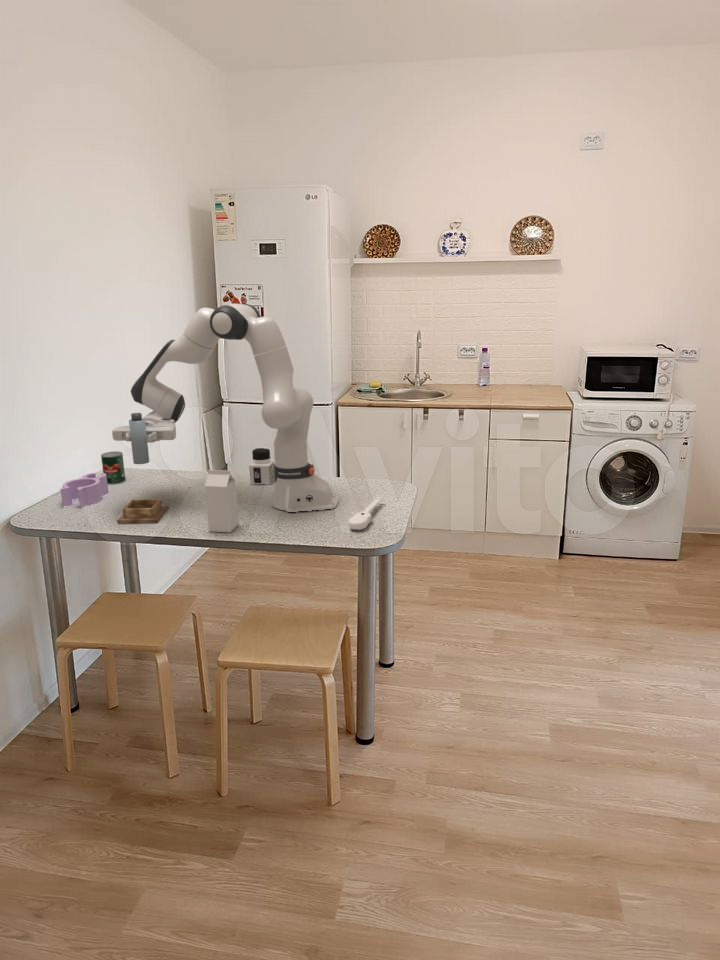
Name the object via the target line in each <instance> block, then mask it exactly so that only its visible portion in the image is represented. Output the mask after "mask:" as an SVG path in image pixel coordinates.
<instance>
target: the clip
mask: <svg viewBox="0 0 720 960" xmlns="http://www.w3.org/2000/svg"><path fill="white" fill-rule="evenodd" d="M61 486H62V487H61V488H59V489H60V497H61V503H62V507H63V506H70V505H72V506H73V500H72V499H74V500H76V498H77V499H78V502H79V503H78V504H79V507H81V508H80V509H83V508H82V507H85V508H86V506H85V505H89V506H92V505H91V504H93V505H96V504H98V502H99V503H101V502H102V501H103V496H105V495H107V494H109V484H107V477H106V474H105V473H103V472H102V473H101V474H100V476H97V477H96V472H90V473H86V474H84V475H83V476H81V477H79V478H75V479H71V480H69V481H65V482H64V483H63V484H61ZM95 503H96V504H95ZM70 507H71V506H70Z"/></svg>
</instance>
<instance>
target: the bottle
mask: <svg viewBox="0 0 720 960" xmlns="http://www.w3.org/2000/svg"><path fill="white" fill-rule="evenodd" d="M130 416H131V417H130V418H131V419H129V420H128V426H129V427H130V436H131V441H130V442H131V443H130V444H131V453H132V461H133V464H134V465H145V464H149V463H150V455H149V454H150V453H149V443H148V442H147V441H146V435H147V433H146V424H145V419H143V415H142V412H132V413H130Z"/></svg>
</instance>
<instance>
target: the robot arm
mask: <svg viewBox="0 0 720 960" xmlns="http://www.w3.org/2000/svg"><path fill="white" fill-rule="evenodd" d="M220 339H223V340H231V341H232V340H236V341H240V340H243V339H244V340H246V341H247V343H248V344H249V346H250V349H251V351H252V355H253V357H254V361H255V364H256V368H257V370H258V374H259V376H260V380H261V382H260V383H261V388H262V399H263V401H262V403H263V404H262V408H261V418H262V420H263V422H264V423H265V425H266V426H267V427H269V428H271V429H275V430H277V432H276V436H275V439H274V441H273V453H274V479H275V480H274V482H275V485H274V495H273V497H274V498H273V501H272V507H274V508H275V509H277V510H282V511H284V510H285V512H286V511H287V512H286V513H288V512H296V513H299V512H298V511H308V512H316V511H315V510H319V511H326V510H325V509H331V510H334V509H335V508H336V506H338V505H339V498H338V496H337V495H335V494H332V490H331V489H332V488H331V487H330V485H329V483H328V482H327V481H326V480H324V479H323V478H321V477H319V476H318V475H316V474H315V466H314V464H313V463H312V464H311V463H309V462H308V436H309V427H310V421H311V414H312V411H313V408H314V400H313V398H314V397H313V396H312V394H311V393H310V392H309V391H307V389H303V388H299V387H298V388H297V387H295V388H294V382H293V381H294V380H293V376H294V366H293V363H292V360H291V357H290V354H289V351H288V347H287V344H286V341H285V339H284V335H283V334H282V331H281V329H280V328H279V326H278V323H277V322H276V320H275V319H274V318H272V317H271V316H261V314H260V312H259V311H258V309H257V308H256V307H254V306H253V305H251V304H248V303H229V304H223V305H221V306H218V307H217V308H216V309H214V308H210V307H201V308H200V309H198V310H197V311H196V313H195V314H194V315H193V316H192V318H191V320H190V321H189V322H188V324H187V325H186V327H185V329H184V330H183V333H182V334H181V336H180V337H179V338H177V339H170V340H169V341H167V342H166V344H164V345H163V347H162V348H161V349H160V350H159V351H158V353H157V354H156V356H155V357H154V358H153V359H152V361H151V362H150V363H149V365H148V366H147V368H146V369H145V370H144V371H143V373H142V374H141V375H140V376H138V378H137V379H136V380H135V381H134V382H133V384H132V386H131V389H130V394H131V397H132V399H133V401H134V402H135V403H138V404H140V405H142V406H144V407H146V408H147V409H148V408H149V409H150V410H152V411H150V412H149V413H148V414H147V415H145V416H142V418H143V419H145V424H146V433H147V435H146V441H147V443H148V444H150V443H155V442H159V441H174V440H175V439H176V438H177V428H176V423H177V422H178V420H179V419H180V418H181V416H182V414H183V413H184V411H185V407H186V402H185V401H186V400H185V397H184V395H183V394H181V393H180V392H178V391H176V390H174V389H173V388H170V387H169V386H167V385H166V384H164V383H162V382H160V381H159V380H158V379H157V376H158V375H159V373H160V372H161V371H162V369H164V367H165V366H166V365H167V363H168V362H169V363H170V362H177V363H178V362H179V363H184V364H189V365H193V364H194V365H197V364H202V363H203V362H206V361H207V360H209V358H210V356H211V355H212V353H213V352H214V350H215V348H216V346H217V345H218V342H219V340H220ZM111 436H112V439H113V441H115V442H116V441H117V442H118V441H119V442H121V441H122V442H123V441H126V442H131V436H130V427H129V425H120V426H117V427H115V428H113V429H112V433H111ZM333 508H334V509H333ZM312 510H314V511H312Z"/></svg>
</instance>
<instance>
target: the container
mask: <svg viewBox="0 0 720 960" xmlns="http://www.w3.org/2000/svg"><path fill="white" fill-rule="evenodd" d="M251 452H252V462H251V463H250V464H249V465H248V470H249V480H250V481H249V483H250V485H251V484H265V485H264V486H270V485H271V484H272V483H273V482H275V479H274V465H275V459H271V451H270V449H269V448H267V447H256V448H254V449H252V451H251Z"/></svg>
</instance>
